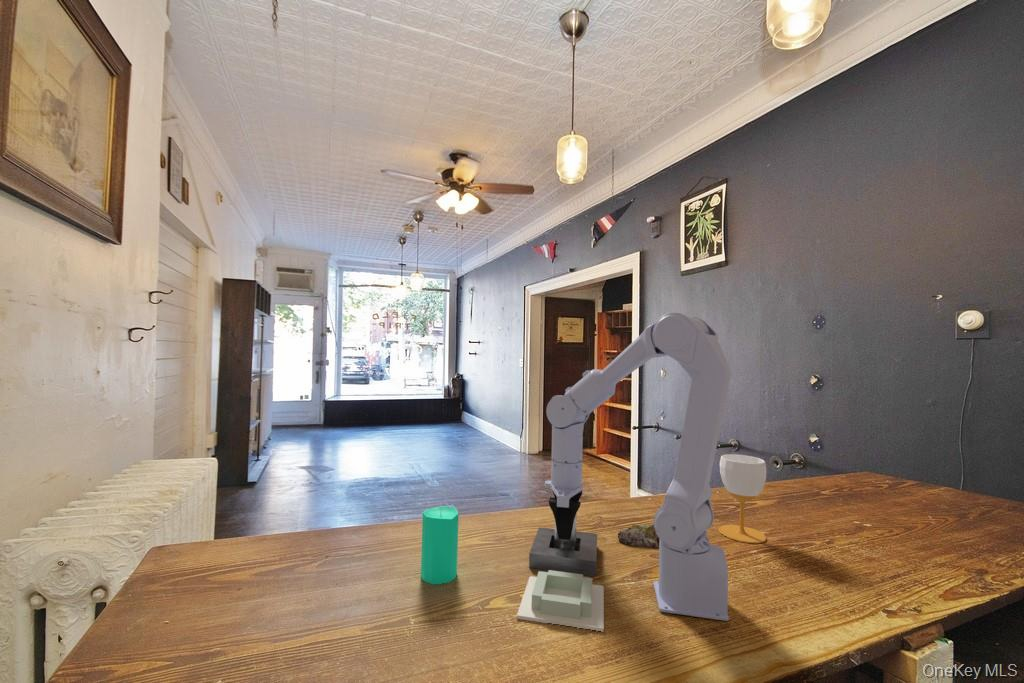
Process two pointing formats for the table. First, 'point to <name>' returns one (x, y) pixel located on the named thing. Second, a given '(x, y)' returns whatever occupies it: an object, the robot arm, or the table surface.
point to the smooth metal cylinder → (566, 543)
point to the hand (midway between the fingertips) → (565, 533)
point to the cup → (742, 491)
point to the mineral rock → (640, 535)
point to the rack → (563, 600)
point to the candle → (439, 544)
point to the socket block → (564, 553)
